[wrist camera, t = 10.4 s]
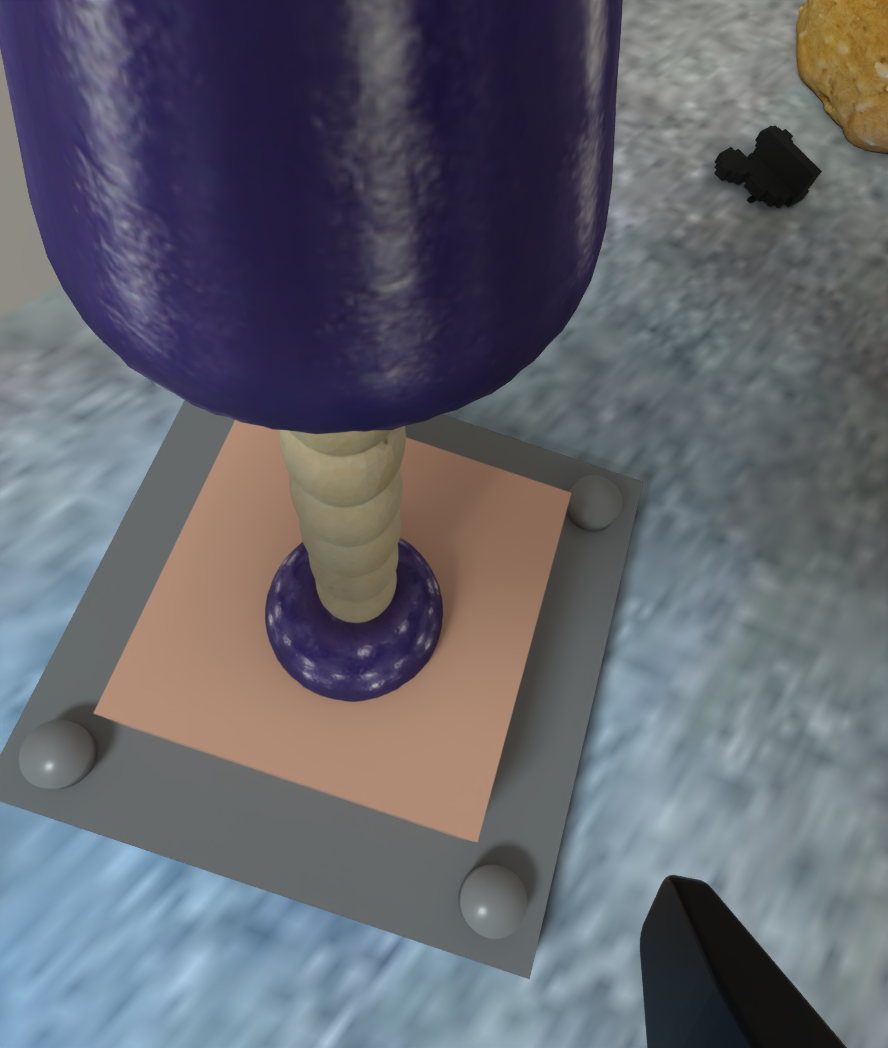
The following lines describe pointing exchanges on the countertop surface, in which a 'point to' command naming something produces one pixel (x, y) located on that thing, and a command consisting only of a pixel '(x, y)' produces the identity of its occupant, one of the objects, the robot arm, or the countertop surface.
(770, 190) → the block figure
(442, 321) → the toy lamp
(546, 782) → the tower base
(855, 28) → the bagel
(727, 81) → the countertop surface
